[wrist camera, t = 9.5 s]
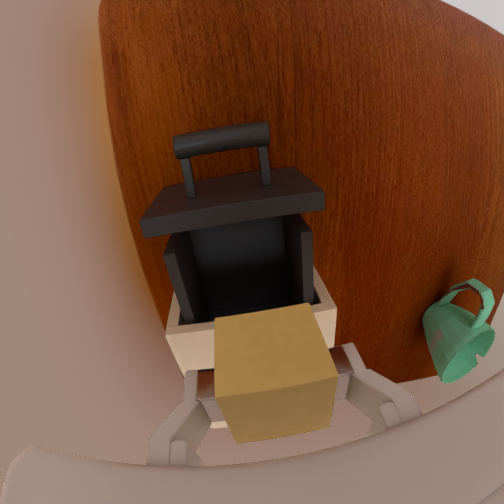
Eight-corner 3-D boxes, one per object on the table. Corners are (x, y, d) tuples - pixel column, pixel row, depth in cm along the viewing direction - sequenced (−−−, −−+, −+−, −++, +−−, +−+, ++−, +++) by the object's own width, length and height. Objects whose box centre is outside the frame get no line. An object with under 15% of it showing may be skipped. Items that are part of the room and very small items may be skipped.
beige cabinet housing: (179, 265, 28) (164, 335, 19) (303, 246, 28) (337, 307, 19) (211, 363, 34) (211, 428, 26) (305, 348, 35) (325, 410, 26)
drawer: (153, 138, 21) (121, 150, 14) (288, 116, 21) (319, 118, 14) (197, 313, 29) (193, 371, 22) (301, 296, 30) (323, 350, 23)
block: (214, 317, 12) (213, 396, 8) (309, 301, 12) (339, 374, 8) (231, 375, 13) (236, 443, 10) (309, 362, 14) (329, 427, 10)
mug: (448, 328, 38) (478, 368, 29) (402, 345, 37) (431, 392, 29) (472, 251, 31) (517, 289, 22) (423, 263, 31) (471, 310, 22)
